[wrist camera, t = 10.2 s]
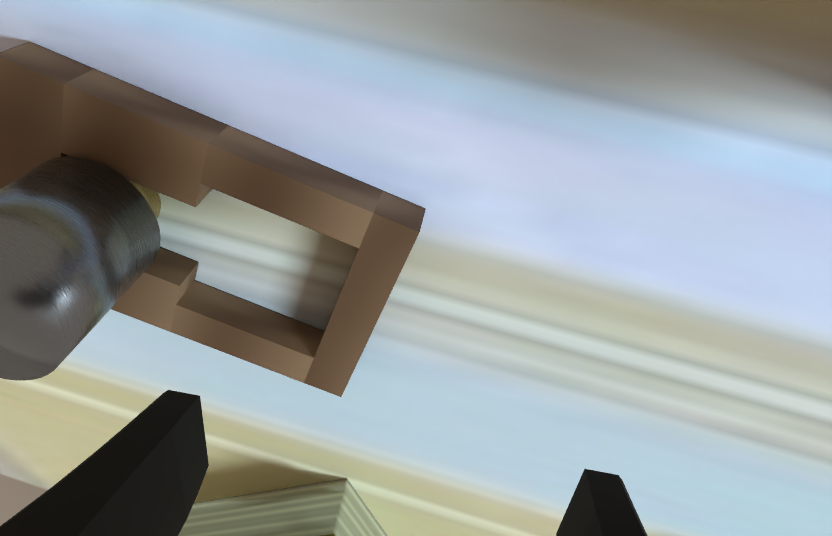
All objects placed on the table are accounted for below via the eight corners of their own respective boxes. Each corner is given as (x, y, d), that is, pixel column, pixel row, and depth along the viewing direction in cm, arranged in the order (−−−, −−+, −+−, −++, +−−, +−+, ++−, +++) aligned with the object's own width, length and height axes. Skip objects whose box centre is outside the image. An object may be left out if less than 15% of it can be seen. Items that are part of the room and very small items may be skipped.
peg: (210, 207, 21) (96, 334, 15) (140, 269, 22) (15, 402, 17) (104, 107, 19) (-68, 207, 13) (39, 183, 21) (-135, 298, 15)
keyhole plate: (425, 208, 19) (419, 232, 18) (350, 369, 24) (341, 397, 23) (30, 41, 18) (-6, 54, 17) (28, 244, 23) (0, 266, 21)
